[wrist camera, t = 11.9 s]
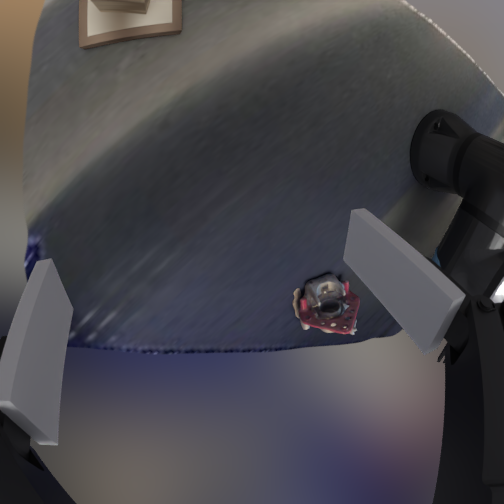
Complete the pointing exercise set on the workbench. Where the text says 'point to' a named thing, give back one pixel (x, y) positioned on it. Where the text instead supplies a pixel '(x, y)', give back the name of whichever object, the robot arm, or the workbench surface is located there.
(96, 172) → the workbench surface
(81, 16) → the plinth
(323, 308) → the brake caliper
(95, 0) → the oak block
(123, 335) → the workbench surface
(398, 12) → the workbench surface
